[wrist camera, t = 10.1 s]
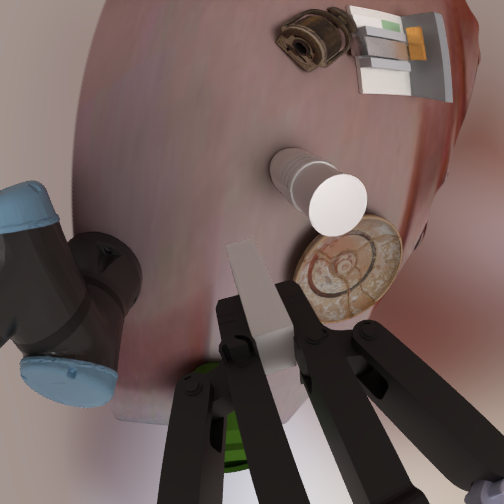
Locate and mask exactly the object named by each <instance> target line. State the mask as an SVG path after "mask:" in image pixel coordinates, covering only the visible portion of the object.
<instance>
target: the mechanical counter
mask: <svg viewBox="0 0 504 504" xmlns="http://www.w3.org/2000/svg"><path fill="white" fill-rule="evenodd" d="M329 12H330V13H329ZM329 12H327V11H323V10H319V9H309V10H306V11H304V12H302V13H300V14H298V15H297V16H295V17H293V18H291V19H290V20H288V21H286V22H285V23H283V25H282V26H281V31H282V34H281V35H280V37H279V38H278V39H277V41H276V44H277V45H278V46H280V47H281V48H282V49H283V50H284V51H285V52H286V53H287V54H289V55H290V56H291V57H292V58H293V59H294V60H295V61H296V62H297V63H298V64H299V65H300V66H302V67H303V68H304V69H305V70H306V71H307V72H310V71H312V70H314V69H315V68H316V67H318V66H321V67H323V68H325V67H328V66H329V65H331V64H332V63H333V62H334V61H336V60H337V59H338V58H339V57H341V56H342V55H343V54H344V53H346V52H347V51H348V50H349V48H350V46H351V35H350V33H349V32H351V33H355V32H356V31H357V25H356V23H355V21H354V19H353V18H352V17H351V16H350V15H349V14H348V13H347V12H346V11H344V10H341V9H339V8H337V7H330V8H329ZM310 13H312V14H319V15H322V16H325V17H327V18H329V19H331V20H332V21H334V23H335V24H336V25H337V26H338V27H339V28H340V29H341V30H342V31H343V32H344V35H345V37H346V46H345V48H344V49H343V50H342V51H340V52H338V51H339V50H340V48H341V44H342V41H341V37H340V34H339V32H338V30H337V29H336V28H335V27H334V25H333V24H331V23H330V22H329V21H328V20H326V19H324V18H322V17H319V16H307V17H305V18H303V19H302V20H300V21H298V22H296V23H295V24H292V25H291V26H288V25H289V24H291V23H293V22H294V21H296V20H298V19H299V18H301V17H303V16H304V15H306V14H310Z"/></svg>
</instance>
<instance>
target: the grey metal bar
mask: <svg viewBox="0 0 504 504" xmlns="http://www.w3.org/2000/svg"><path fill="white" fill-rule="evenodd" d="M406 33H407V39H408V44H406V43H401V42H397V41H392V40H386V39H381V38H375V37H368V36H361V35H359V36H355V37H351V46H350V47H351V53H352V56H359V57H373V58H381V59H389V60H396V61H402V62H413V60H422V61H427V60H426V52H425V45H424V39H423V33H422V28H421V27H419V26H418V27H409V28H406Z"/></svg>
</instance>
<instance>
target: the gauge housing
mask: <svg viewBox="0 0 504 504" xmlns="http://www.w3.org/2000/svg"><path fill="white" fill-rule="evenodd" d="M346 9H347V13H348V14H349V15H350V16H351V17H352V18H353V19H354V21H355V23H356V25H357V31H356V32H355V33H351V35H352V37H355V36H359V35H361V36H368V37H375V38H381V39H386V40H392V41H397V42H401V43H406V44H408V39H407V33H406V28H409V27H418V26H419V27H421V28H422V33H423V39H424V45H425V52H426V60H427V61H422V60H413V62H402V61H396V60H389V59H381V58H373V57H359V56H355V60H356V67H357V75H358V84H359V93H368V94H395V95H409V96H416V97H423V98H429V99H434V100H439V101H444V102H451V103H453V96H452V79H451V68H450V59H449V51H448V45H447V38H446V33H445V27H444V22H443V18H442V15H440V14H438V13H435V12H429V13H421V14H414V15H408V16H402V17H400V16H396V15H392V14H389V13H384V12H380V11H376V10H371V9H366V8H361V7H355V6H347V7H346Z"/></svg>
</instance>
